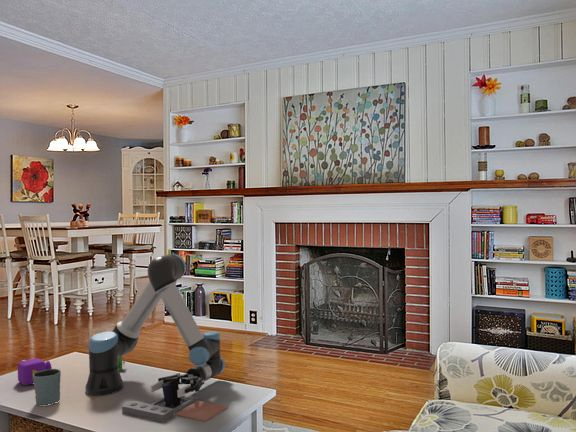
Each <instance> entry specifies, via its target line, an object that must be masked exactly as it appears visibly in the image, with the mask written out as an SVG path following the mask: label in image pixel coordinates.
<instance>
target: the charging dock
mask: <svg viewBox="0 0 576 432" xmlns="http://www.w3.org/2000/svg"><path fill="white" fill-rule="evenodd" d="M180 399H181V402H183V403H181V405H179V406H177V407H176V408H174V409H173V407H172V408H171V407H168V406H166V407H165V406H163V405H161V406H160V405H159V404H161V403H165V401H164V397H162V398H161V399H158V400H156V401H154V402H152V403H146V402H142V401H137V400H132V401H130V402H128V403H126V404H124V405H122V406H121V413H122V414H125V415H130V416H135V417H140V418H143V419H148V420H153V421H158V422H162V423H164V422H166V421H168V420H170V419H171V418H173V417H174V416H175V413H177V412H179V411H181V410H182V409H184V408H186V407H188V406H189V405H191V404H193V403H194V400H193V399H191V398H186V397H183V396H181V397H180Z"/></svg>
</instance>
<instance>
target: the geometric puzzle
mask: <svg viewBox="0 0 576 432" xmlns="http://www.w3.org/2000/svg"><path fill="white" fill-rule="evenodd" d="M125 364H126V362H125V360H124V358H123V356H121V357H120V358H118V370H119V371H123V365H125Z"/></svg>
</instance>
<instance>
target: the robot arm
mask: <svg viewBox="0 0 576 432" xmlns="http://www.w3.org/2000/svg"><path fill="white" fill-rule="evenodd" d="M186 271H187V265H186V261H185V260H184V258H183V257H182V256H181V255H178V254H176V253H168V254H164V255H161V256H160V255H159V256H157V257H155V258H152V260H151V261H150V262H149V264H148V267H147V276H148V280H149V281H148V283H147V284H146V285H145V287H144V289H143V290H142V292H141V293H140V295H139V296H138V298H137V299H136V300H135V302H134V304H133V305H132V307H131V308H130V309H129V311H128V313H127V314H126V315H125V317H124V319H123V320H121V321H120V320H119V321H118V322H117V323H116V325H115V327H114V328H113V329H112V330H111V331H103V332H99V333H96V334H94V335H92V336H91V337H90V338H89V340H88V358H89V359H88V360H89V361H88V362H89V363H88V364H89V366H88V368H89V373H88V378H87V381H86V384H85V387H84V388H85V394H87V395H89V396H107V395H111V394H115V393H117V392H119V391H121V390H122V389H123V388H124V381H123V379H122V376H121V373H120V370H118V358H120V357H121V356H122V357H123V356H125V355H127V354H129V353H131V352H132V351H133V350H135V348H136V346H137V345H138V343H139V338H140V336H141V332H140V330H141V328H142V327H143V326H144V324H145V323H146V322H147V320H148V318H149V317H150V315H151V314H152V312H153V311H154V309H155V308H156V307H157V305H158V304H159V302H160V300H162V302H163V304H164V306H165V308H166V309H167V311H168V314H169V315H170V317H171V318H172V320H173V322H174V324H175V327H177V330H178V331H179V333H180V335H181V337H182V339H183V340H184V341H183V342H184V343H185V345H186V346H187V348H188V351H189V355H188V356H189V357H188V358H189V360H190V363H192V365H194V366H193V367H190V368H189V369H188V370H187V371H186V373H184V374H181V372H178V373H175V374H171V375H167V376H164V377H159V378H158V379H157V382H155V383H152V384H151V385H150V392H151V393H155V392H156V391H159V390H160V389H163V388H162V384H163V383H166V382H169V381H172V380H174V379H175V378H177V379H178V386H179V385H185V386H183V387H181V388H179V390H177V393H178V398H179V397H184V396H185V395H187V394H189V393H192V392H194V391H195V392H196V393H198V392H199V391H200V389H201V388H202V387H203V385H205V382H207V381H208V380H211V379H213V378H214V377H217V376H219V375H220V374H221V373H223V372H224V370H225V368H226V362H225V361H224V358H222V356H221V336H220V335H221V334H220V333H219V332H218V331H215V330H214V331H213V330H212V331H206V332H204V333H203V334H202V331H201V329H200V328H199V326H198V324H197V322H196V321H195V318H194V317H193V315H192V313H191V311H190V309H189V308H188V305H187V304H186V302H185V300H184V298H183V296H182V294H181V293H180V291H179V289H178V287H177V281H178V280H179V279H181V278H182V277H184V275H185V273H186Z"/></svg>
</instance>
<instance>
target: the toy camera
mask: <svg viewBox="0 0 576 432" xmlns="http://www.w3.org/2000/svg"><path fill="white" fill-rule="evenodd" d="M47 369H53V368H52V364H51V362H50V360H46V362H45V361H44V360H43V359H41V358H32V359H27V360H26V359H23V360H21V361H19V362H18V363H17V381H18V382H19V383H20V384H22V385H23V386H31V385H34V384H33V383H34V381H33V374H34V373H36V372H38V371H42V370H47ZM30 384H31V385H30Z"/></svg>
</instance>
